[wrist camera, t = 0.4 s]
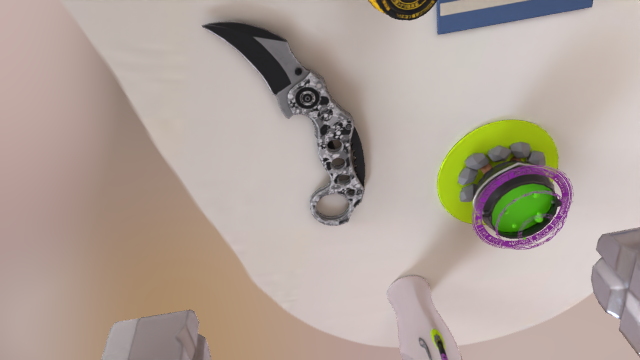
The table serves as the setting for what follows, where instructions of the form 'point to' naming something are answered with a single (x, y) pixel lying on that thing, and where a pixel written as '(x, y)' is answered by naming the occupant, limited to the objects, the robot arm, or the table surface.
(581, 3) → the blue board
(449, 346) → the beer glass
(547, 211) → the toy cauldron
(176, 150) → the table surface
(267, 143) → the table surface
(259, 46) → the knife
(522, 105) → the table surface
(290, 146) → the table surface
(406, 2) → the condiment
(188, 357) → the robot arm
